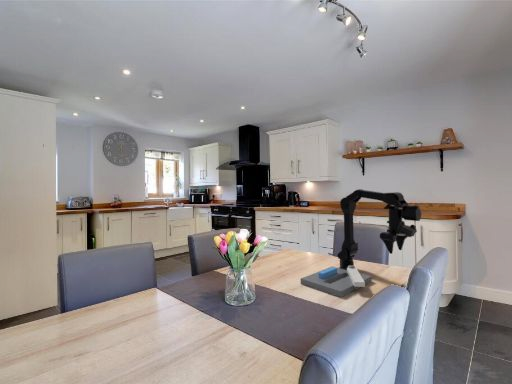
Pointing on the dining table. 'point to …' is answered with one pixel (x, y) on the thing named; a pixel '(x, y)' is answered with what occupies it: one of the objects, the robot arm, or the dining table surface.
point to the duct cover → (355, 276)
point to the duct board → (339, 285)
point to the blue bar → (327, 272)
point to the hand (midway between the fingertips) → (395, 251)
